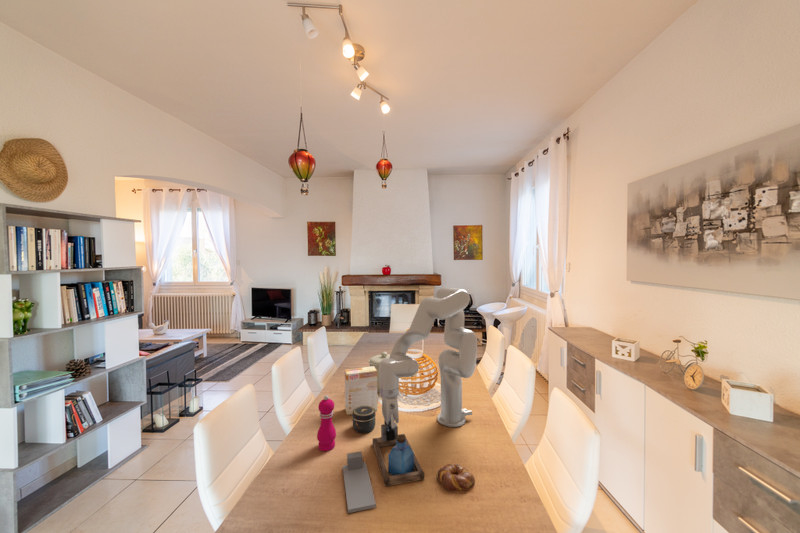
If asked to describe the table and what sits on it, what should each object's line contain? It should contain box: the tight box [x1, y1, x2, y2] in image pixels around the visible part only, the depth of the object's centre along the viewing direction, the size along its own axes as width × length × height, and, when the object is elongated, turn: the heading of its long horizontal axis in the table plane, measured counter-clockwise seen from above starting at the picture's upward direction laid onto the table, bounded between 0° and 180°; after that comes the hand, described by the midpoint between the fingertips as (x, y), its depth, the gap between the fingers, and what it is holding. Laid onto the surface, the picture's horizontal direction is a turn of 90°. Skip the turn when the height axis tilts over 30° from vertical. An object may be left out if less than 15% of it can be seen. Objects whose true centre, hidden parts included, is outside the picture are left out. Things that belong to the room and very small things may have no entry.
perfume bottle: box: [387, 434, 415, 476], centre depth 108 cm, size 6×6×12 cm
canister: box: [368, 351, 391, 393], centre depth 177 cm, size 18×18×21 cm
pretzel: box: [437, 463, 476, 492], centre depth 103 cm, size 12×11×4 cm
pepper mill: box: [316, 394, 337, 452], centre depth 122 cm, size 7×7×20 cm
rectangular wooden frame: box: [372, 422, 425, 487], centre depth 114 cm, size 13×24×7 cm, turn 15°
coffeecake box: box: [344, 366, 378, 416], centre depth 153 cm, size 15×7×20 cm, turn 108°
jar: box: [351, 406, 376, 434], centre depth 136 cm, size 10×10×8 cm
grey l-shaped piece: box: [342, 451, 377, 514], centre depth 101 cm, size 8×20×5 cm, turn 15°
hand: (389, 436), depth 124 cm, fingers closed on rectangular wooden frame, 3 cm apart
